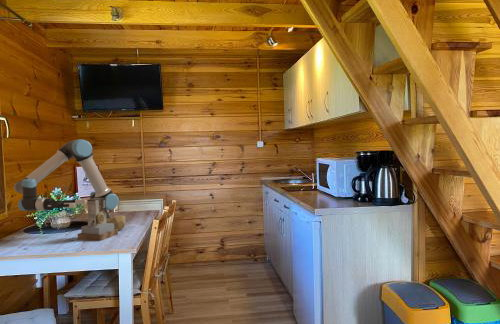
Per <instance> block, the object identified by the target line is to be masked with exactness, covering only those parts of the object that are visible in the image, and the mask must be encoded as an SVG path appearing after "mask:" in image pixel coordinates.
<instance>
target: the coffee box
mask: <svg viewBox="0 0 500 324" xmlns="http://www.w3.org/2000/svg"><path fill="white" fill-rule="evenodd" d="M86 204H87V225H88V226H92V227H97V226H100V225H104V224H107V221H106V198H94V199H90V198H89V199H87V200H86Z"/></svg>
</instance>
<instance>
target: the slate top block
mask: <svg viewBox="0 0 500 324" xmlns="http://www.w3.org/2000/svg"><path fill="white" fill-rule="evenodd" d="M80 228H81V232H80V233H84V234H98V235H100V234H103V233H106V232H109V231H112V230H114V223H107V224H104V225H100V226H97V227H92V226H88V224H86V225H83V226H81V227H80Z"/></svg>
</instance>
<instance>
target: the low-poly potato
mask: <svg viewBox="0 0 500 324" xmlns="http://www.w3.org/2000/svg"><path fill="white" fill-rule="evenodd" d="M106 221H107V223H114V229H118V232H120V231H122V230H124V228H125V227H126V226H125V225H126V215H116V216H113V217H110V218H106Z"/></svg>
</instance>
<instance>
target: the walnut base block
mask: <svg viewBox="0 0 500 324" xmlns="http://www.w3.org/2000/svg"><path fill="white" fill-rule="evenodd" d="M118 235H119V231H118V229H114V230H112V231H109V232H106V233H103V234H100V235H98V234H84V233H81V232H80V233H77V240H79V239H80V240H81V241H82V240H83V241H96V242H97V241H99V242H101V241H104V240H107V239H110V238H113V237H115V236H118Z"/></svg>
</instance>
